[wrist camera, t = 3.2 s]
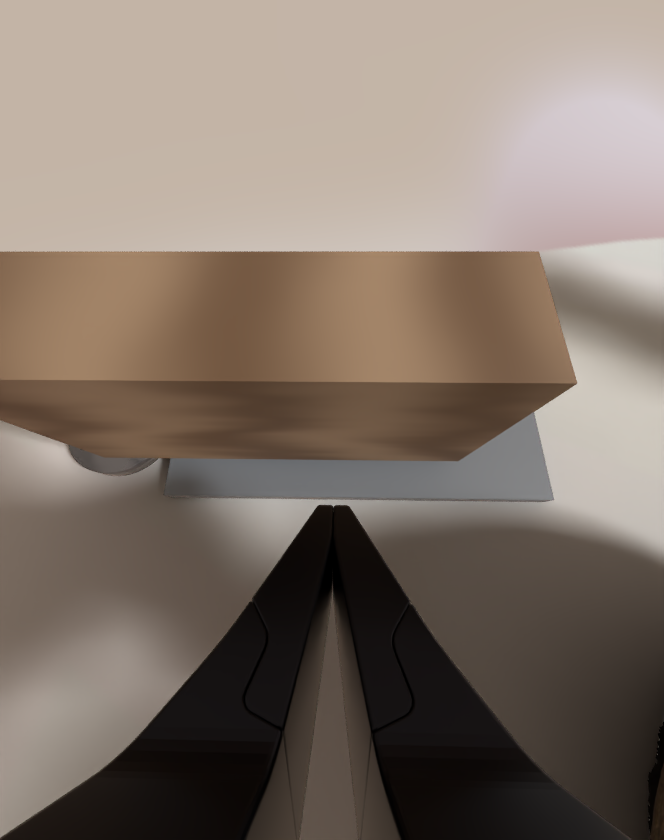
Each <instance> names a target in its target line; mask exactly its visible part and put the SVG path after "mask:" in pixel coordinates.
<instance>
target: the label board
mask: <svg viewBox="0 0 664 840" xmlns="http://www.w3.org/2000/svg"><path fill="white" fill-rule="evenodd" d="M164 495H165V496H169V497H193V498H272V499H351V500H430V501H509V502H546V501H551V500H554V498H553V493H552V489H551V485H550V480H549V476H548V471H547V467H546V463H545V458H544V454H543V450H542V445H541V441H540V437H539V432H538V428H537V423H536V419H535V415H534V412H533V413H531V414H530V415H528V416H527V417H525V418H524V419H522V420H521V421H519V422H518V423H516V424H515V425H513V426H512V427H510V428H509V429H507V430H505V431H504V432H502V433H501V434H499V435H498V436H496V437H495V438H493V439H492V440H490V441H489V442H487V443H486V444H484V445H483V446H481V447H480V448H478V449H476V450H475V451H473V452H472V453H470V454H469V455H467V456H466V457H464V458H463V459H461V460H460V461H380V460H286V459H191V458H171V459H170V465H169V470H168V475H167V480H166V485H165V490H164Z"/></svg>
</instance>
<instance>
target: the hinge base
mask: <svg viewBox="0 0 664 840" xmlns="http://www.w3.org/2000/svg"><path fill="white" fill-rule="evenodd" d="M69 449H70V451H71V454H72V455H73V457H74V458H75V460H76V461H77V462H78V463H79V464H80V465H82V466H83V467H85V468H87V469H89V470H92V471H95V472H98V473H102V474H105V475H111V476H123V475H129V474H133V473H136V472H138V471H140V470H143V469H145V468H146V467H148V466H149V465H151V464H152V463H154V462H155V461H156V460H157V459H158V458H104V457H101V456H99V455H96V454H93V453H90V452H88V451H85V450H82V449H79V448H76V447H74V446H71V445H69Z"/></svg>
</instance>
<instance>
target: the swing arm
mask: <svg viewBox="0 0 664 840" xmlns="http://www.w3.org/2000/svg"><path fill="white" fill-rule="evenodd" d="M576 384H577V381H576V377H575V374H574V370H573V367H572V363H571V360H570V357H569V353H568V350H567V346H566V343H565V339H564V336H563V333H562V329H561V326H560V322H559V319H558V315H557V312H556V309H555V305H554V302H553V298H552V295H551V292H550V288H549V285H548V281H547V278H546V274H545V271H544V268H543V264H542V261H541V257H540V254H539V252H0V420H2V421H4V422H7V423H10V424H13V425H15V426H18V427H21V428H24V429H27V430H29V431H32V432H35V433H38V434H40V435H43V436H46V437H49V438H52V439H54V440H57V441H60V442H63V443H65V444H68V445H71V446H74V447H76V448H79V449H82V450H85V451H88V452H90V453H93V454H96V455H99V456H101V457H104V458H191V459H286V460H380V461H460V460H461V459H463V458H464V457H466V456H467V455H469V454H470V453H472V452H473V451H475V450H476V449H478V448H480V447H481V446H483V445H484V444H486V443H487V442H489V441H490V440H492V439H493V438H495V437H496V436H498V435H499V434H501V433H502V432H504V431H505V430H507V429H509V428H510V427H512V426H513V425H515V424H516V423H518V422H519V421H521V420H522V419H524V418H525V417H527V416H528V415H530V414H531V413H533V412H535V411H536V410H538V409H539V408H541V407H542V406H544V405H545V404H547V403H548V402H550V401H551V400H553V399H554V398H556V397H557V396H559V395H560V394H562V393H564V392H565V391H567V390H568V389H570V388H571V387H573V386H574V385H576Z"/></svg>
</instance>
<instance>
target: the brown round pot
mask: <svg viewBox="0 0 664 840" xmlns="http://www.w3.org/2000/svg"><path fill="white" fill-rule="evenodd" d="M659 728H660V730H659V731H660V733H658V736H659V739H660V740H659V741H658V746H659V747H658V748H657V750H658V751H657V754H658V755H656V756H657V757H656V759H657V764H656V763H655V765H654V767H653V769H652V771H651V773H650V772H649V776H648V778H649V780H647V781H648V782H649V793H650V794H649V800H648V801H649V805H650V806H649V805H648V808H649V809H648V812H649V817H648V818H649V819H650V820H649V821H648V823H649V831H650V840H664V722H663V726H661V727H659Z"/></svg>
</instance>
